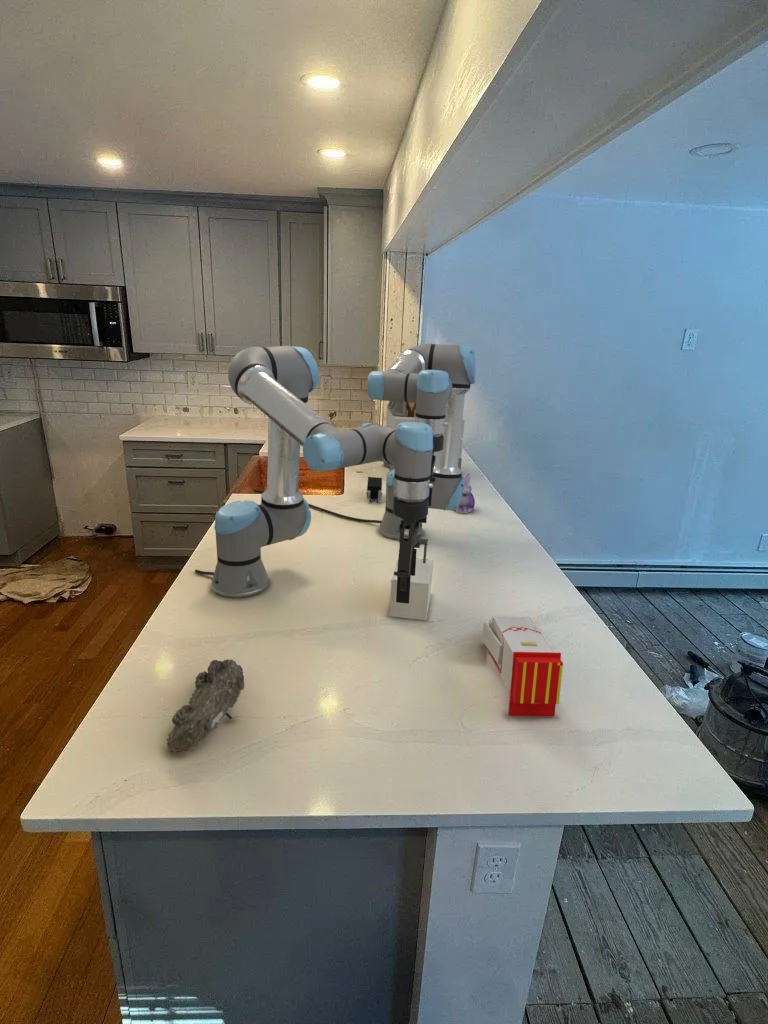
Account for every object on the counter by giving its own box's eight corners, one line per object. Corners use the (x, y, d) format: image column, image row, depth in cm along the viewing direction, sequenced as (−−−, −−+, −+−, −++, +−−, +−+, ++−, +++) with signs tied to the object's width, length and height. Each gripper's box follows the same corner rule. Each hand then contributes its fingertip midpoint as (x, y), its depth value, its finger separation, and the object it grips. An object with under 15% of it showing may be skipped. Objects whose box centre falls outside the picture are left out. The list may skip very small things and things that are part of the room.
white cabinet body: (396, 591, 159) (398, 560, 156) (430, 595, 158) (432, 564, 155) (389, 616, 146) (391, 582, 143) (426, 620, 145) (428, 587, 142)
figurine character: (382, 507, 229) (381, 492, 243) (383, 490, 226) (382, 475, 239) (365, 506, 229) (366, 491, 242) (366, 489, 226) (366, 475, 239)
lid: (398, 559, 157) (400, 532, 154) (433, 562, 156) (435, 536, 153) (391, 582, 143) (392, 554, 140) (428, 586, 142) (430, 558, 139)
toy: (528, 601, 136) (572, 659, 107) (523, 653, 139) (565, 722, 110) (478, 600, 136) (508, 657, 107) (474, 652, 139) (503, 722, 109)
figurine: (461, 515, 220) (465, 478, 215) (447, 507, 229) (450, 471, 224) (481, 512, 224) (485, 476, 219) (466, 504, 233) (469, 469, 228)
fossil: (192, 660, 117) (244, 628, 112) (224, 691, 120) (276, 661, 115) (142, 746, 98) (202, 712, 93) (182, 779, 101) (242, 748, 96)
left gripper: (424, 518, 107) (417, 617, 114) (432, 482, 130) (427, 566, 137) (385, 515, 108) (381, 613, 115) (400, 479, 131) (396, 563, 138)
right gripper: (440, 445, 130) (433, 531, 137) (447, 425, 153) (441, 500, 160) (408, 443, 131) (403, 528, 138) (419, 423, 154) (414, 497, 161)
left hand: (406, 587), depth 126 cm, fingers open, 13 cm apart
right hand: (423, 513), depth 149 cm, fingers open, 13 cm apart
